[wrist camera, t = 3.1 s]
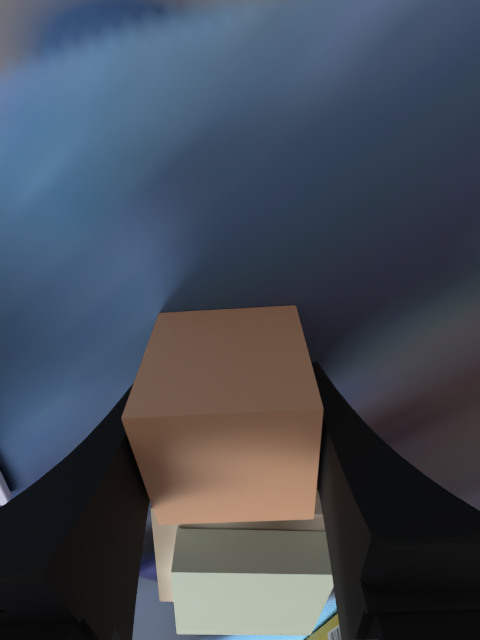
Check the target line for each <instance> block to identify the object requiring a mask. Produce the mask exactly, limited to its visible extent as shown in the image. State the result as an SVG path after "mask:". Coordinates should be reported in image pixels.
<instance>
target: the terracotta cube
mask: <svg viewBox="0 0 480 640" xmlns="http://www.w3.org/2000/svg"><path fill="white" fill-rule="evenodd" d="M323 410H324V408H323V405H322V401H321V397H320V394H319V390H318V386H317V382H316V379H315V375H314V371H313V367H312V364H311V360H310V356H309V352H308V349H307V345H306V341H305V337H304V334H303V330H302V326H301V322H300V319H299V315H298V311H297V307H296V305H290V306H272V307H255V308H237V309H219V310H202V311H184V312H166V313H159V314H158V317H157V320H156V323H155V325H154V328H153V331H152V334H151V336H150V339H149V342H148V345H147V348H146V350H145V353H144V356H143V359H142V362H141V364H140V367H139V370H138V373H137V376H136V378H135V381H134V384H133V387H132V389H131V392H130V395H129V398H128V401H127V403H126V406H125V409H124V412H123V415H122V417H121V419H122V422H123V425H124V428H125V431H126V434H127V436H128V439H129V442H130V445H131V448H132V451H133V453H134V456H135V459H136V462H137V465H138V468H139V470H140V473H141V476H142V479H143V482H144V485H145V487H146V490H147V493H148V496H149V499H150V502H151V505H152V507H153V510H154V513H155V516H156V519H157V522H158V524H159V525H173V524H200V523H226V522H253V521H279V520H306V519H314V511H315V500H316V489H317V477H318V466H319V455H320V444H321V432H322V421H323Z"/></svg>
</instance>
